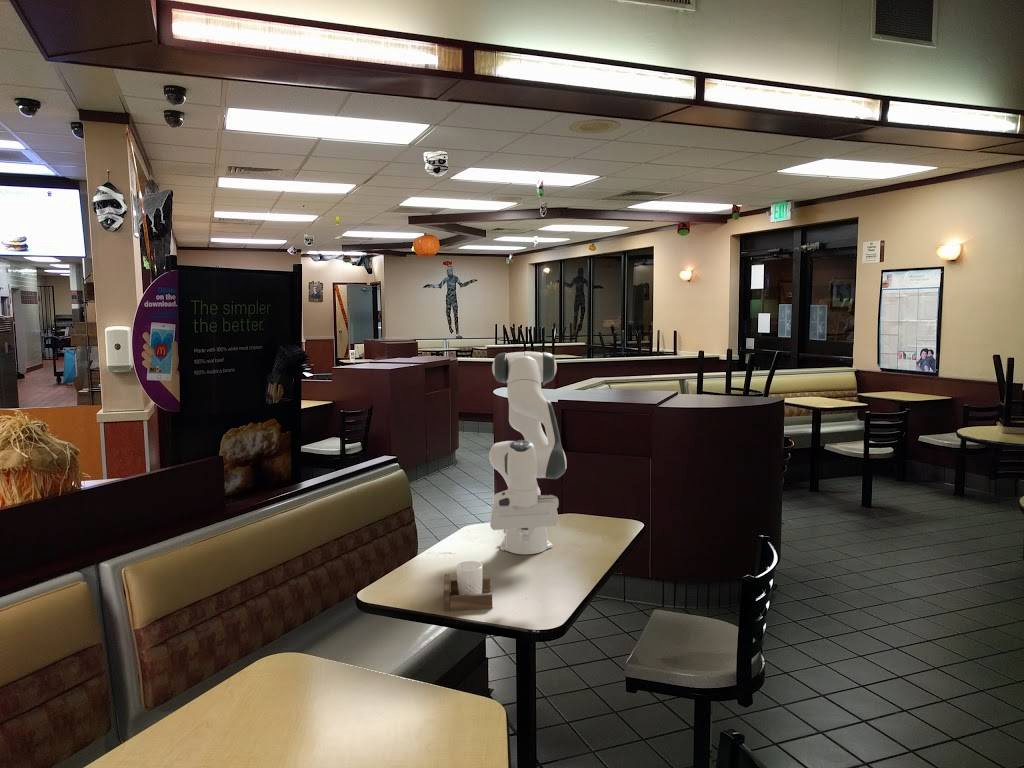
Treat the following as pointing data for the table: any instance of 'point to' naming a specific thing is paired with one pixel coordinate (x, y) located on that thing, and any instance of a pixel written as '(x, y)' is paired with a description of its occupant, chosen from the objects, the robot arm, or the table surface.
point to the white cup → (469, 577)
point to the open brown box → (466, 596)
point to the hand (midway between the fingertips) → (524, 541)
